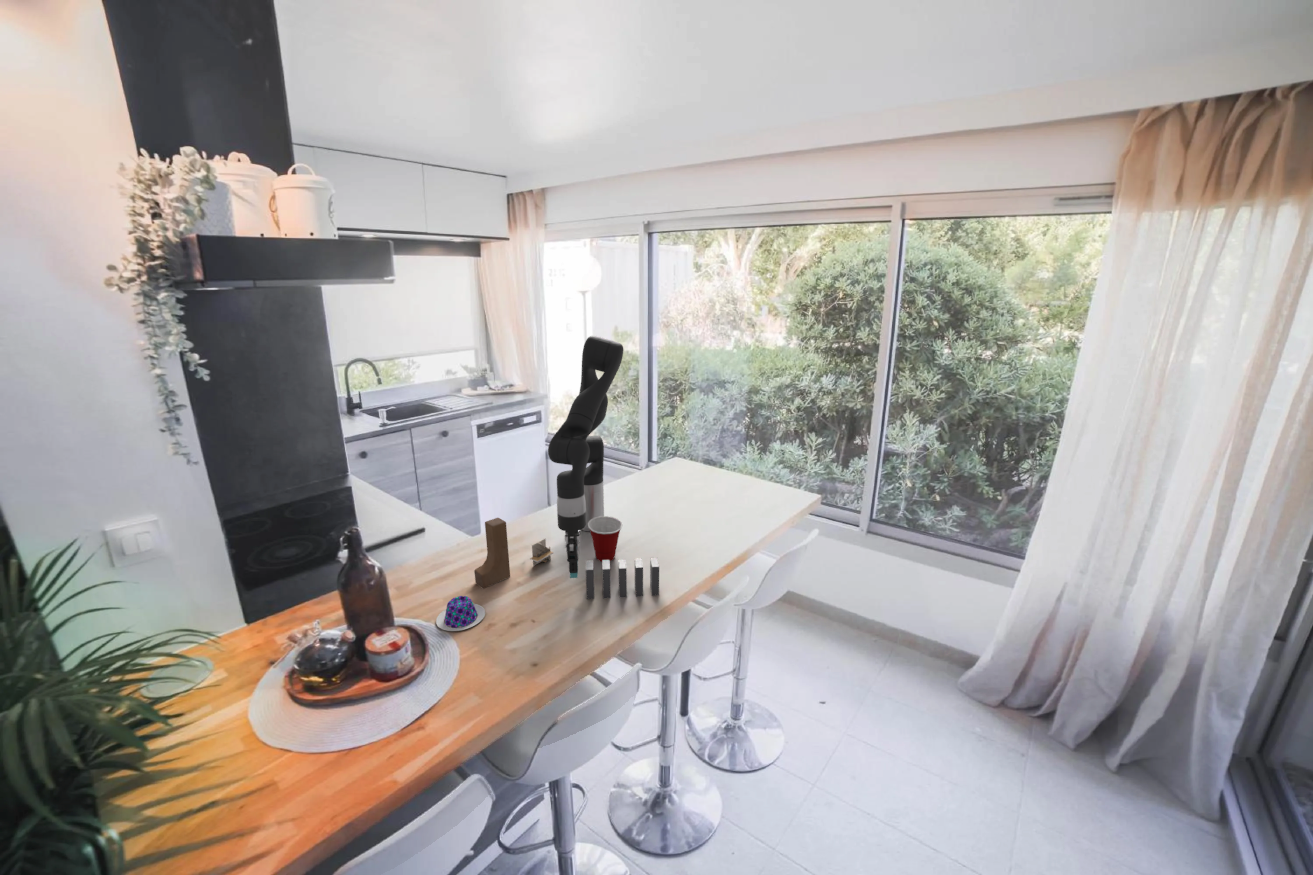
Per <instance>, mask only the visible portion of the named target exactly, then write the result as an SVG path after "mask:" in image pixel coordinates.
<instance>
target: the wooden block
mask: <svg viewBox="0 0 1313 875" xmlns="http://www.w3.org/2000/svg"><path fill="white" fill-rule="evenodd" d="M484 529H485V537H486V538H485V539H486V549H487V555H486V559H485V560H484V561H483V564H482V565H480V566H478V567H476V568H475V569H474V571H473V572H474V579H475V580H474V581H475V584H476V585H477V586H478V587H480V588H481V589H486V588H488V587H492V586H493V585H495V584H497V583H499V582H502V581H505V580H506V579H509V578H510V577H511V569H510V568H511V567H510V556H509V546H508V545H509V543H508V533H507V532H508V531H507V530H508V529H507V522H506V521H505V520H503V519H501V518H500V517H495V518H492V519H489V520H487V521H484Z"/></svg>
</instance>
